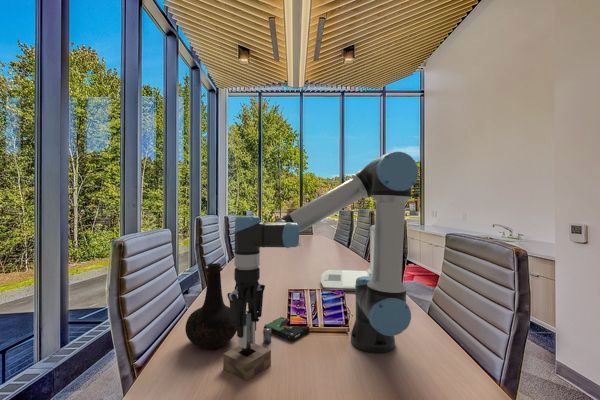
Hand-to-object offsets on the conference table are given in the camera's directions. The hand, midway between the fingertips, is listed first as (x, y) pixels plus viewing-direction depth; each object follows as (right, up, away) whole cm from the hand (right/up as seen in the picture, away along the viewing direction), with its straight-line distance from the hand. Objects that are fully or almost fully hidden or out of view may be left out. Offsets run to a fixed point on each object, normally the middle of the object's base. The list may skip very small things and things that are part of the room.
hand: (246, 344), depth 89 cm
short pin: (+4, -7, +16) cm, 18 cm away
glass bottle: (-15, -7, +15) cm, 22 cm away
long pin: (0, -4, 0) cm, 4 cm away
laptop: (+46, -7, +91) cm, 102 cm away
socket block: (0, -7, 0) cm, 7 cm away
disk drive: (+11, -7, +24) cm, 27 cm away
